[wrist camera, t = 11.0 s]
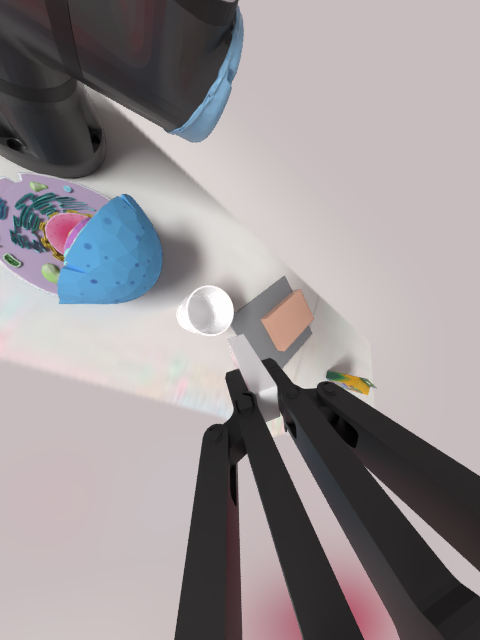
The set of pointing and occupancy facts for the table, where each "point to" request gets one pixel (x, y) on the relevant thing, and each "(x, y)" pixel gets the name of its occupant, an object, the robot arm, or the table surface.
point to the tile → (287, 320)
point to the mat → (254, 329)
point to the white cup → (206, 311)
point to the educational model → (76, 240)
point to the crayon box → (350, 382)
